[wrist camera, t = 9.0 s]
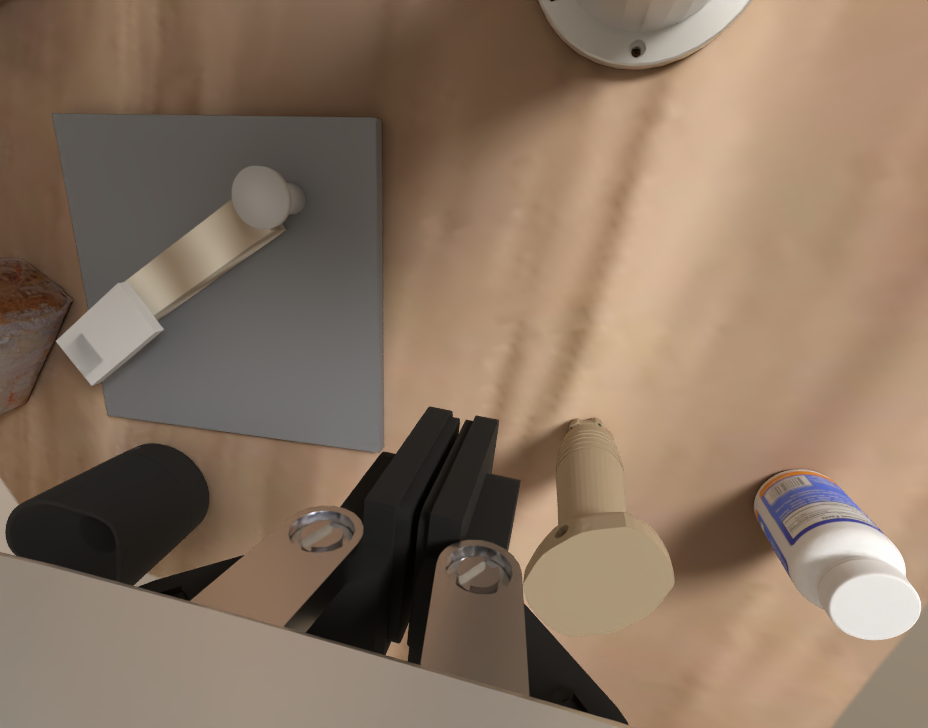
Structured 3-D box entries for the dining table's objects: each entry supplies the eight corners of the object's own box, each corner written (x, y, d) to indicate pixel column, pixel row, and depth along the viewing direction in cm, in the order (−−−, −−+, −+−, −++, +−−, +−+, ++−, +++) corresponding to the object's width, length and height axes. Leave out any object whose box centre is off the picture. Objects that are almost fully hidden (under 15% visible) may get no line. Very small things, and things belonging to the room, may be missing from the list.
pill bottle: (830, 543, 34) (922, 664, 25) (744, 531, 35) (802, 643, 26) (851, 471, 33) (957, 573, 24) (760, 461, 34) (828, 554, 25)
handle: (647, 437, 35) (697, 592, 21) (571, 484, 37) (570, 653, 23) (604, 383, 34) (625, 506, 20) (529, 434, 37) (502, 576, 23)
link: (261, 189, 34) (245, 188, 32) (286, 229, 34) (271, 231, 33) (123, 294, 39) (102, 298, 37) (146, 328, 39) (127, 334, 37)
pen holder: (214, 449, 43) (114, 517, 33) (217, 542, 46) (126, 628, 36) (117, 427, 44) (-5, 486, 35) (126, 518, 47) (16, 595, 38)
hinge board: (65, 115, 37) (-6, 103, 32) (381, 120, 32) (350, 106, 28) (117, 411, 44) (65, 434, 39) (384, 447, 39) (359, 478, 35)
